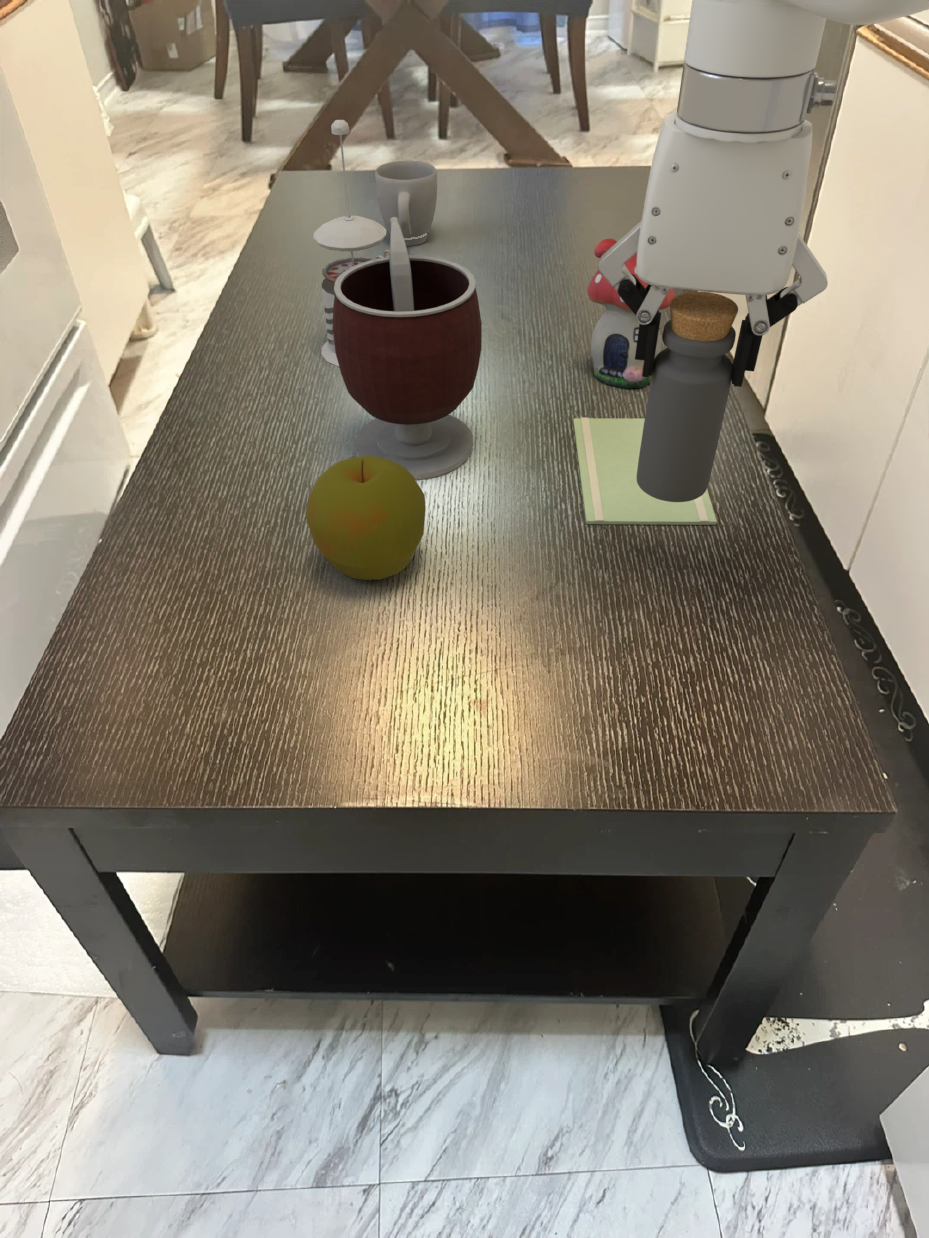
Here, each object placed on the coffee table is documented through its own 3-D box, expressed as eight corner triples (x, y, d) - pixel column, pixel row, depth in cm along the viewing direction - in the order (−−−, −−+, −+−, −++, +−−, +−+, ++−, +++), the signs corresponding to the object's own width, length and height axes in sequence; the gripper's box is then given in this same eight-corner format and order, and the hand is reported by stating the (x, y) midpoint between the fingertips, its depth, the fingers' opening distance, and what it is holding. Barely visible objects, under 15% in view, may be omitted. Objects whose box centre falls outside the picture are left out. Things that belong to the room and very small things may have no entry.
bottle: (627, 494, 71) (653, 315, 61) (645, 456, 75) (672, 282, 65) (700, 510, 70) (739, 329, 59) (714, 470, 74) (753, 294, 63)
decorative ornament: (571, 373, 102) (582, 242, 92) (600, 352, 106) (613, 223, 96) (643, 397, 98) (663, 262, 88) (670, 373, 102) (692, 241, 92)
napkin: (716, 525, 82) (717, 520, 81) (586, 524, 82) (586, 520, 82) (685, 421, 95) (686, 417, 94) (572, 421, 95) (573, 417, 95)
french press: (350, 324, 112) (327, 102, 95) (429, 344, 108) (420, 116, 91) (304, 357, 106) (270, 126, 89) (386, 379, 102) (368, 142, 85)
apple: (423, 525, 82) (418, 421, 75) (433, 594, 75) (428, 487, 68) (315, 533, 81) (298, 429, 74) (315, 604, 74) (296, 498, 67)
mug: (382, 228, 136) (377, 160, 129) (439, 228, 136) (438, 160, 129) (375, 259, 127) (369, 188, 120) (436, 259, 127) (434, 188, 120)
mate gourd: (491, 477, 88) (494, 277, 74) (351, 490, 86) (327, 289, 72) (467, 398, 99) (465, 211, 85) (342, 409, 97) (320, 221, 83)
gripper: (886, 90, 54) (810, 361, 67) (606, 77, 57) (583, 339, 70) (900, 124, 49) (815, 412, 62) (591, 108, 52) (569, 385, 65)
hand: (692, 371), depth 66 cm, fingers closed on bottle, 5 cm apart
